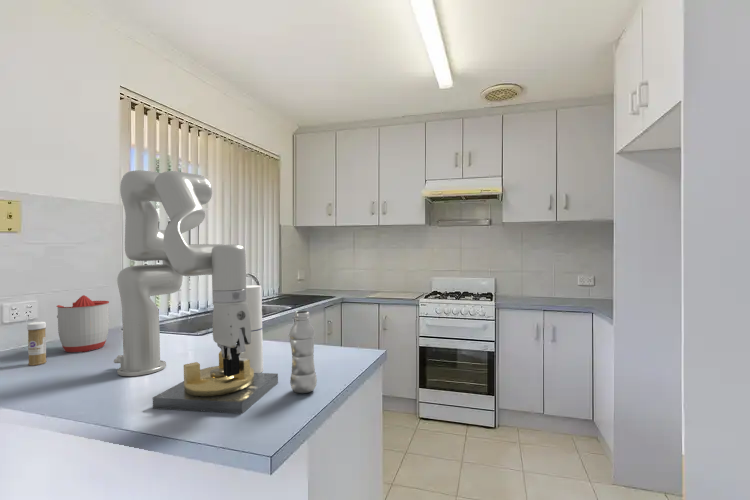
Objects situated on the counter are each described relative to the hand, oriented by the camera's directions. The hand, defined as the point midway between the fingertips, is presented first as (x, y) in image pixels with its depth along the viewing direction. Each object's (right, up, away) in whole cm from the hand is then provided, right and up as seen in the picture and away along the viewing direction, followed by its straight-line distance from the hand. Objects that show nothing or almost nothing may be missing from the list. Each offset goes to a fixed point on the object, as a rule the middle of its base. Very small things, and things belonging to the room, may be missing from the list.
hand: (231, 374), depth 91 cm
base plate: (-5, -7, +5) cm, 9 cm away
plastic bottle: (+16, -6, +6) cm, 18 cm away
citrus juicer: (-75, -8, +52) cm, 92 cm away
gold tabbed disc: (-5, -4, +5) cm, 7 cm away
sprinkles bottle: (-76, -8, +34) cm, 83 cm away
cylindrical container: (-3, -7, +22) cm, 23 cm away
